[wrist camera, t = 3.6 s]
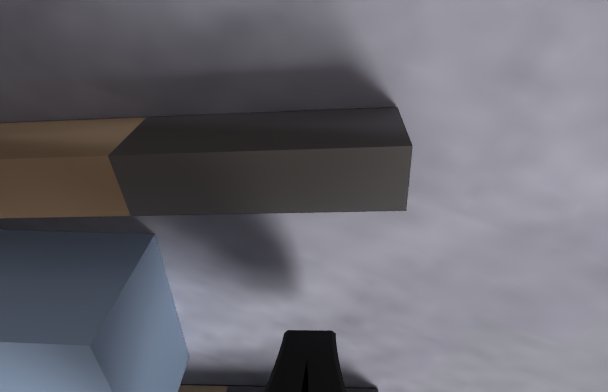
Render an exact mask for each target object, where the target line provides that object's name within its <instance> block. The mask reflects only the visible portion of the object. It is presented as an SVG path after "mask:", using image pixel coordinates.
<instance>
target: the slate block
mask: <svg viewBox="0 0 608 392" xmlns="http://www.w3.org/2000/svg"><path fill="white" fill-rule="evenodd" d="M188 360H189V353H188V350H187V346H186V343H185V339H184V336H183V332H182V329H181V325H180V321H179V318H178V314H177V311H176V307H175V304H174V300H173V297H172V293H171V290H170V286H169V282H168V279H167V275H166V272H165V268H164V265H163V261H162V258H161V254H160V250H159V247H158V243H157V240H156V236H155V234H132V233H97V232H62V231H27V230H0V392H178V390H179V387H180V384H181V381H182V378H183V375H184V372H185V369H186V366H187V363H188Z"/></svg>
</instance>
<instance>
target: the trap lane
mask: <svg viewBox="0 0 608 392" xmlns="http://www.w3.org/2000/svg"><path fill="white" fill-rule="evenodd" d="M411 156H412V144H411V141H410V138H409V136H408V133H407V131H406V128H405V125H404V123H403V120H402V118H401V115H400V113H399V110H398V107H390V108H365V109H340V110H315V111H290V112H265V113H240V114H216V115H191V116H166V117H141V118H116V119H91V120H67V121H42V122H17V123H0V218H46V217H100V216H153V215H206V214H260V213H313V212H366V211H406V207H407V197H408V187H409V176H410V166H411ZM265 388H266V387H250V386H195V385H180V387H179V390H178V392H264V390H265ZM345 389H346V392H378V389H361V388H345Z"/></svg>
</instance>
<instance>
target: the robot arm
mask: <svg viewBox="0 0 608 392" xmlns="http://www.w3.org/2000/svg"><path fill="white" fill-rule="evenodd" d="M264 392H346V389H345V385H344V381H343V377H342V373H341V369H340V364H339V359H338V353H337V346H336V333H334V332H333V331H308V330H288V331H287V332H285V333H284V337H283V341H282V344H281V347H280V351H279V354H278V357H277V360H276V362H275V365H274V368H273V370H272V373H271V376H270V378H269V381H268V383H267V386H266V388H265V390H264Z"/></svg>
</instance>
